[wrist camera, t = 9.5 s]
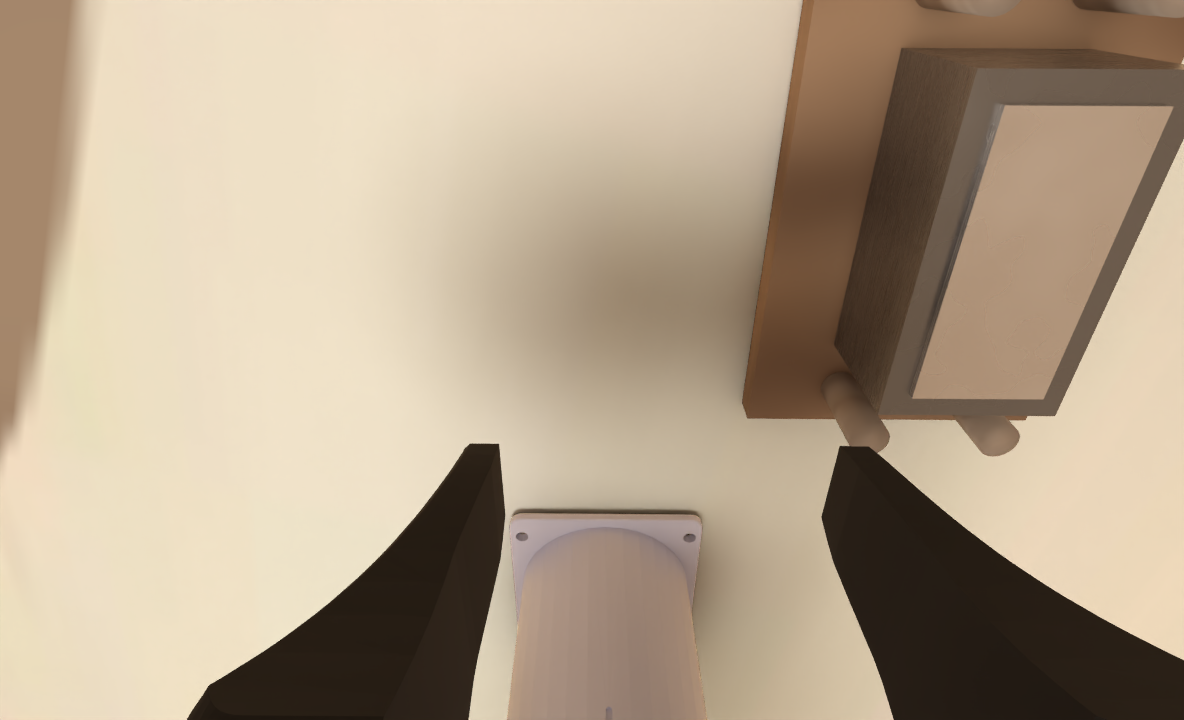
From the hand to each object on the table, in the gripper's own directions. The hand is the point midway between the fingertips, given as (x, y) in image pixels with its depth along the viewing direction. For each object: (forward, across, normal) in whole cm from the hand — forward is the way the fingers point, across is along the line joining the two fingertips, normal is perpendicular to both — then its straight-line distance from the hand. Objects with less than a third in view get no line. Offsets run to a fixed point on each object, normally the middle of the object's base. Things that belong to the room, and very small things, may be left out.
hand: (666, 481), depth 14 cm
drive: (+8, -9, -3) cm, 13 cm away
